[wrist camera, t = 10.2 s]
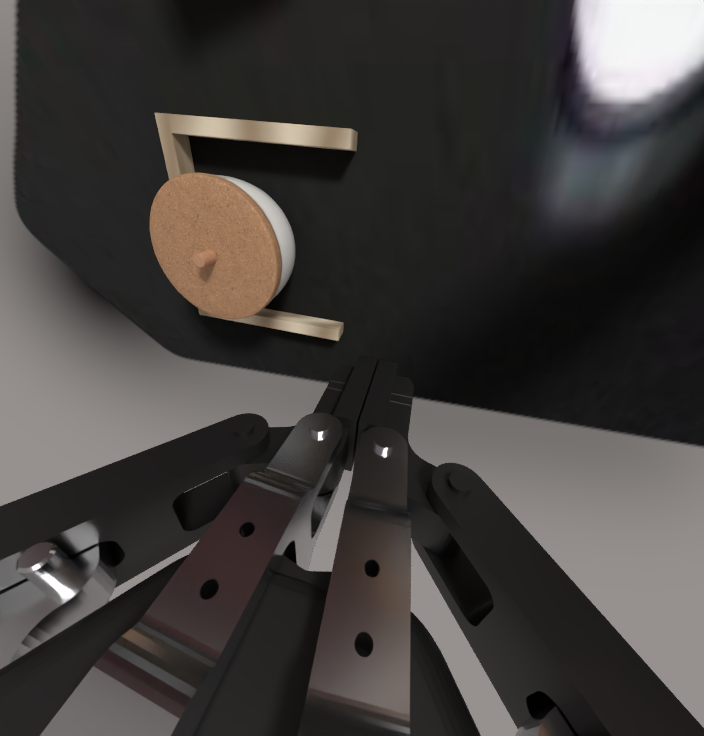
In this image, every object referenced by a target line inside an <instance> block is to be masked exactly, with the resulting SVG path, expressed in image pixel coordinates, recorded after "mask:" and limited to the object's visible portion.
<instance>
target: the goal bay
mask: <svg viewBox="0 0 704 736" xmlns="http://www.w3.org/2000/svg"><path fill="white" fill-rule="evenodd" d="M155 117H156V122H157V126H158V131H159V135H160V140H161V144H162V149H163V153H164V158H165V162H166V167H167V171H168V176H169V180H170V179H172V178H174V177H176V176H179V175H182V174H187V173H195V170H194V164H193V159H192V153H191V148H190V142H189V136H198V137H208V138H219V139H230V140H241V141H251V142H262V143H273V144H284V145H294V146H305V147H316V148H326V149H337V150H348V151H356V147H357V134H358V132H356V131H355V130H353V129H346V128H334V127H322V126H310V125H298V124H286V123H273V122H261V121H249V120H237V119H225V118H213V117H201V116H188V115H176V114H164V113H155ZM198 310H199V315H204V316H210V317H215V318H220V317H217V316H214V315H211V314H209V313H207V312H205V311H203V310H201V309H199V308H198ZM220 319H225V318H220ZM226 320H231V321H236V322H241V323H247V324H252V325H257V326H262V327H268V328H273V329H278V330H284V331H289V332H294V333H299V334H305V335H310V336H315V337H321V338H326V339H331V340H336V341H338V340H339V338H340V337H341V335H342V333H343V324H344V323H343V322H337V321H332V320H326V319H321V318H315V317H310V316H304V315H298V314H293V313H287V312H282V311H276V310H271V309H265V308H263V309H262V310H261V311H260V312H258V313H256V314H255V315H253V316H250V317H247V318H243V319H226Z"/></svg>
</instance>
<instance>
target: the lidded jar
mask: <svg viewBox="0 0 704 736" xmlns="http://www.w3.org/2000/svg"><path fill="white" fill-rule="evenodd" d="M150 234H151V240H152V244H153V248H154V252H155V254H156V257H157V259H158V261H159V264H160V265H161V267H162V269H163V271H164V273H165V274H166V276H167V277H168V279H169V280H170V282H171V283H172V284H173V286H174V287H175V288H176V289H177V290H178V291H179V292H180V293H181V294H182V295H183V296H184V297H185V298H186V299H187V300H188V301H189V302H191V303H192V304H193V305H195V306H196V307H198V308H199V309H201V310H203V311H205V312H207V313H209V314H211V315H214V316H217V317H220V318H225V319H243V318H247V317H250V316H253V315H255V314H256V313H258V312H260V311H261V310H262V309H263V308H265V307H266V306H267V305H268V304H269V303H270V302H271V300H272V299H273V298H274V297H276V296H277V295H278V294H279V293H280V291H281V290H282V289H283V287H284V286H285V285H286V283H287V281H288V279H289V277H290V275H291V273H292V270H293V267H294V262H295V241H294V236H293V232H292V229H291V226H290V224H289V222H288V219H287V218H286V216H285V214H284V213H283V211H282V210H281V208H280V207H279V206H278V205H277V203H276V202H275V201H274V200H273V199H272V198H271V197H270V196H269V195H267V194H266V193H265V192H263V191H262V190H261V189H259V188H257V187H255V186H254V185H252V184H250V183H248V182H245V181H242V180H239V179H236V178H232V177H228V176H220V175H213V174H205V173H187V174H182V175H179V176H176V177H174V178H172V179H170V180H169V181H167V182H166V183H165V184H164V185H163V186H162V187H161V188H160V190H159V191H158V193H157V195H156V197H155V199H154V202H153V204H152V207H151V214H150Z"/></svg>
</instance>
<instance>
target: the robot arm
mask: <svg viewBox="0 0 704 736" xmlns="http://www.w3.org/2000/svg"><path fill="white" fill-rule="evenodd" d="M378 361H379V363H378ZM397 367H398V362H393V361H388V360H383V359H380V360H379V359H377V358H372V357H367V356H362V355H360V356H359V358H358V360H357V363H356V365H355V367H352V366H347V365H344V366H342V367H341V368H339V369H338V370H336V371H335V373H334V375H333V377H332V378H331V381H330V382H329V384H328V386H327V388H326V390H325V392H324V393H323V396H322V397H321V399H320V401H319V403H318V405H317V407H316V409H315V410H314V412H313V413H312V414H309V415H307V416H305V417H303V418H302V419H301V420H300V421H299V422H298V423H297V425H296V426H291V427H272V428H271V427H268V423H267V421H266V420H265V419H264V418H263V417H262V416H259V415H257V414H251V413H247V414H240V415H236V416H234V417H231V418H228V419H226V420H223V421H221V422H218V423H215V424H213V425H210V426H208V427H205V428H202V429H200V430H197V431H195V432H192V433H190V434H187V435H184V436H182V437H179V438H177V439H174V440H171V441H169V442H166V443H164V444H161V445H159V446H156V447H153V448H151V449H148V450H145V451H143V452H140V453H138V454H136V455H132V456H130V457H127V458H125V459H122V460H120V461H117V462H114V463H112V464H109V465H106V466H104V467H101V468H99V469H96V470H93V471H91V472H88V473H86V474H83V475H81V476H78V477H76V478H73V479H70V480H68V481H65V482H63V483H60V484H57V485H55V486H52V487H49V488H47V489H44V490H42V491H39V492H37V493H34V494H31V495H29V496H26V497H24V498H21V499H18V500H16V501H13V502H11V503H8V504H5V505H3V506H0V736H480V733H479V731H478V729H477V727H476V725H475V723H474V720H473V718H472V716H471V714H470V712H469V710H468V708H467V706H466V703H465V701H464V699H463V697H462V695H461V693H460V691H459V689H458V687H457V685H456V683H455V680H454V678H453V676H452V674H451V672H450V670H449V668H448V665H447V663H446V661H445V659H444V657H443V655H442V653H441V651H440V649H439V648H438V646H437V645H436V643H435V641H434V639H433V638H432V636H431V635H430V633H429V632H428V630H427V629H426V628H425V626H424V625H423V624H422V623H421V622H420V621H419V619H418V618H417V617H416V616H415V615H414V614H413V613H412V612H411V611H410V608H411V538H412V541H413V544H414V547H415V549H416V550H417V552H418V554H419V556H420V557H421V559H422V561H423V563H424V564H425V566H426V568H427V570H428V572H429V573H430V575H431V577H432V579H433V580H434V582H435V584H436V586H437V587H438V589H439V591H440V593H441V594H442V596H443V598H444V600H445V601H446V603H447V605H448V607H449V609H450V610H451V612H452V614H453V615H454V617H455V619H456V621H457V623H458V624H459V626H460V628H461V630H462V631H463V633H464V635H465V637H466V638H467V640H468V642H469V644H470V645H471V647H472V649H473V651H474V653H475V654H476V656H477V658H478V659H479V661H480V663H481V665H482V667H483V668H484V670H485V672H486V674H487V675H488V677H489V679H490V681H491V682H492V684H493V686H494V688H495V689H496V691H497V693H498V695H499V696H500V698H501V700H502V702H503V703H504V705H505V707H506V709H507V711H508V712H509V714H510V716H511V718H512V719H513V721H514V723H515V725H516V726H517V728H518V731H517V733H516V736H704V728H703V727H702V726H701V725H700V724H699V722H698V721H697V720H696V719H695V718H694V717H693V716H692V715H691V713H690V712H689V711H688V710H687V709H686V708H685V707H684V706H683V705H682V704H681V702H680V701H679V700H678V699H677V698H676V697H675V696H674V695H673V693H672V692H671V691H670V690H669V689H668V688H667V687H666V686H665V684H664V683H663V682H662V681H661V680H660V679H659V678H658V677H657V675H656V674H655V673H654V672H653V671H652V670H651V669H650V667H649V666H648V665H647V664H646V663H645V662H644V661H643V660H642V658H641V657H640V656H639V655H638V654H637V653H636V652H635V651H634V650H633V648H632V647H631V646H630V645H629V644H628V643H627V642H626V641H625V639H624V638H622V636H621V635H620V634H619V633H618V632H617V630H616V629H615V628H614V627H613V626H612V625H611V624H610V623H609V621H608V620H607V619H606V618H605V617H604V616H603V615H602V614H601V612H600V611H599V610H598V609H597V608H596V607H595V606H594V605H593V604H592V603H591V601H590V600H589V599H588V598H587V597H586V596H585V595H584V594H583V593H582V591H581V590H580V589H579V588H578V587H577V586H576V584H575V583H574V582H573V581H572V580H571V579H570V578H569V577H568V575H566V573H565V572H564V571H563V570H562V569H561V568H560V567H559V565H558V564H557V563H556V562H555V561H554V560H553V559H552V558H551V557H550V555H549V554H548V553H547V552H546V551H545V550H544V549H543V547H542V546H541V545H540V544H539V543H538V542H537V541H536V540H535V539H534V537H533V536H532V535H531V534H530V533H529V532H528V531H527V530H526V529H525V527H524V526H523V525H522V524H521V523H520V522H519V521H518V519H517V518H516V517H515V516H514V515H513V514H512V513H511V512H510V510H509V509H508V508H507V507H506V506H505V505H504V504H503V503H502V501H501V500H500V499H499V498H498V497H497V496H496V495H495V494H494V492H493V491H492V490H491V489H490V488H489V487H488V486H487V485H486V483H485V482H484V481H483V480H482V479H481V478H480V477H479V476H478V475H477V474H476V473H475V472H473V471H472V470H471V469H469V468H468V467H465V466H463V465H460V464H456V463H445V464H441V465H439V466H438V467H435V466H434V465H432V464H430V463H428V462H426V461H424V460H423V459H421V458H420V457H419V456H417V455H416V454H415V453H414V451H413V450H412V449H411V447H410V445H409V442H408V430H409V423H410V415H411V407H412V400H413V399H412V398H413V392H414V386H413V384H412V382H411V380H410V378H407V377H402V376H397V375H396V373H397ZM354 460H355V461H354ZM353 463H354V470H353V477H352V482H351V487H350V492H349V497H348V500H347V501H346V505H345V510H344V515H343V520H342V524H341V529H340V534H339V539H338V544H337V549H336V554H335V559H334V564H333V569H332V572H316V571H313V572H312V571H308V568H309V564H310V561H311V557H312V552H313V549H314V546H315V543H316V540H317V538H318V535H319V533H320V531H321V529H322V526H323V523H324V521H325V519H326V517H327V514H328V512H329V509H330V507H331V504H332V502H333V500H334V498H335V495H336V493H337V490H338V484H339V482H340V480H341V477H342V473H343V471H344V469H345V470H349V471H351V470H352V467H353ZM225 472H227V473H225ZM223 473H224V474H223ZM221 474H222V475H221ZM219 475H220V476H219ZM216 476H218V477H216ZM214 477H216V478H214ZM213 478H214V479H213ZM210 479H212V480H210ZM208 480H210V481H208ZM206 481H208V482H206ZM204 482H206V483H204ZM202 483H204V484H202ZM200 484H202V485H200ZM198 485H199V486H198ZM196 486H197V487H196ZM194 487H196V488H194ZM191 488H193V489H191ZM189 489H191V490H189ZM187 490H189V491H187ZM185 491H187V492H185ZM184 492H185V493H184ZM198 540H199V542H198V543H197V544H196V546H195V547H194V548H193V550H192V551H191V553H190V554H189V555H187V556H185V557H183V558H181V559H178V560H177V561H175V562H173V563H171V564H170V565H168V566H167V567H165V568H163V569H162V570H160V571H158V572H157V573H155V574H153V575H152V576H150V577H149V578H147V579H145V580H144V581H142V582H141V583H139V584H137V585H136V586H134V587H133V588H131V589H129V590H128V591H126V592H124V593H123V594H121V595H120V596H118V597H116V598H115V599H113V600H112V601H110V602H109V598H110V596H111V595H112V593H113V591H114V588H116V587H117V586H119V585H121V584H122V583H124V582H126V581H128V580H130V579H131V578H133V577H135V576H137V575H138V574H140V573H142V572H144V571H145V570H147V569H149V568H151V567H152V566H154V565H156V564H158V563H159V562H161V561H163V560H165V559H166V558H168V557H170V556H172V555H173V554H175V553H177V552H178V551H180V550H182V549H184V548H186V547H187V546H189V545H191V544H192V543H194V542H196V541H198Z"/></svg>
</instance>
